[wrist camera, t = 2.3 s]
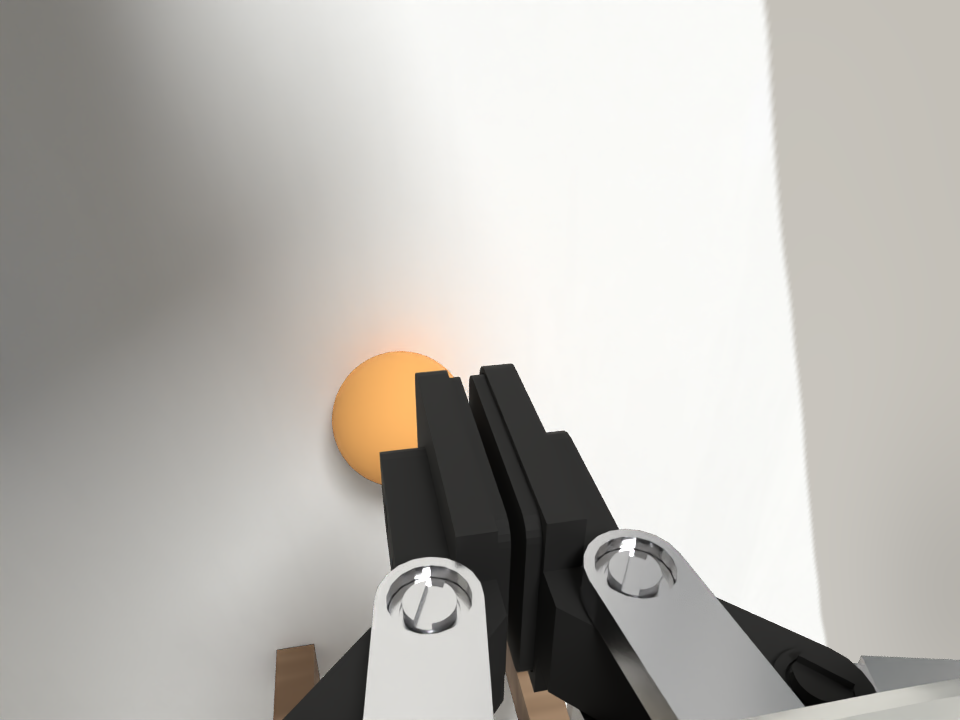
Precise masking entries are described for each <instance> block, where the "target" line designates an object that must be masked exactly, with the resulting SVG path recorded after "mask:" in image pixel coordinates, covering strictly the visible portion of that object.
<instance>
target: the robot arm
mask: <svg viewBox="0 0 960 720" xmlns="http://www.w3.org/2000/svg"><path fill="white" fill-rule="evenodd" d="M415 397H416V420H417V442H418V448H410V449H401V450H393V451H384V452H380V468H381V481H382V493H383V504H384V514H385V524H386V532H387V541H388V549H389V557H390V565H391V572H390V573H388V574H387V575H386V576H385V578H384V579H383V580H382V582H381V583H380V585H379V586H378V589H377V592H376V596H375V599H374V608H373V619H372V627H371V628H370V629H369V630H368V631H367V632H366V633H365V634H364V635H363V636H362V637H361V638H360V639H359V640H358V641H357V642H356V643H355V644H354V645H353V646H352V647H351V648H350V650H349V651H348V652H347V653H346V654H345V655H344V656H343V657H342V658H341V659H340V660H339V661H338V662H337V663H336V664H335V665H334V666H333V667H332V668H331V669H330V670H329V671H328V673H327V674H326V675H325V676H324V677H323V678H322V679H321V680H320V681H319V682H318V683H317V684H316V685H315V686H314V687H313V688H312V689H311V690H310V691H309V692H308V693H307V694H306V695H305V697H304V698H303V699H302V700H301V701H300V702H299V703H298V704H297V705H296V706H295V707H294V708H293V709H292V710H291V711H290V712H289V713H288V714H287V715H286V716H285V717H284V718H283V719H282V720H494V718H493V715H494V713H495V712H496V710H497V709H498V707H499V706H500V704H501V703H502V702H503V697H504V675H505V671H506V650H507V642H508V646H509V650H510V653H511V657H512V660H513V664H514V667H515V669H516V671H517V672H524V671H528V674H529V677H530V681H531V684H532V687H533V691H534V692H540V691H545V690H548V692H549V693H551V694H553V695H554V696H556V697H558V698H560V699H561V700H563V701H565V702H566V703H567V712H568V715H569V718H570V720H960V660H952V659H950V660H949V659H928V658H906V657H883V656H861V657H860V660H859V662H858V663H852V662H851V661H850V660H849V659H847V658H846V657H844V656H842V655H841V654H839V653H837V652H835V651H834V650H832V649H830V648H828V647H826V646H824V645H821V644H819V643H817V642H815V641H813V640H810V639H808V638H806V637H804V636H801V635H799V634H797V633H795V632H792V631H790V630H788V629H786V628H784V627H781V626H779V625H777V624H775V623H772V622H770V621H768V620H766V619H763V618H761V617H759V616H757V615H754V614H752V613H750V612H748V611H746V610H743V609H741V608H739V607H737V606H734V605H732V604H730V603H728V602H725V601H723V600H721V599H719V598H717V597H715V595H714V594H713V593H712V592H711V591H710V589H709V588H708V587H707V586H706V584H705V583H704V582H703V581H702V580H701V578H700V577H699V576H698V575H697V573H696V572H695V571H694V570H693V569H692V567H691V566H690V565H689V564H688V562H687V561H686V560H685V559H684V557H683V556H682V555H681V554H680V553H679V552H678V551H677V550H676V549H675V548H674V547H673V546H672V545H671V544H670V543H668V542H667V541H665V540H663V539H661V538H659V537H658V536H656V535H653V534H650V533H647V532H644V531H640V530H631V529H620V530H619V528H618V527H617V525H616V523H615V521H614V519H613V517H612V515H611V513H610V511H609V509H608V507H607V506H606V504H605V502H604V500H603V498H602V496H601V494H600V492H599V490H598V488H597V486H596V485H595V483H594V481H593V479H592V477H591V475H590V473H589V471H588V469H587V467H586V466H585V464H584V462H583V460H582V458H581V456H580V454H579V452H578V450H577V448H576V446H575V445H574V443H573V441H572V439H571V437H570V436H569V434H568V433H567V432H565V431H557V432H548V433H546V431H545V429H544V427H543V425H542V423H541V421H540V419H539V417H538V415H537V413H536V411H535V408H534V406H533V404H532V402H531V400H530V398H529V396H528V394H527V392H526V390H525V388H524V385H523V383H522V381H521V379H520V377H519V375H518V373H517V371H516V369H515V367H514V365H513V364H502V365H491V366H482V367H481V368H480V375H473V376H470V379H469V402H468V399H467V396H466V393H465V391H464V388H463V385H462V382H461V379H460V377H452V378H449V374H448V372H447V370H440V371H429V372H419V373H415Z"/></svg>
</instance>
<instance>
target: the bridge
mask: <svg viewBox="0 0 960 720" xmlns="http://www.w3.org/2000/svg"><path fill="white" fill-rule="evenodd" d="M505 672H506V676H507V679H508V683H509V687H510V691H511V695H512V698H513V702H514V706H515V710H516V713H517V717H518V720H570V718H569V715H568V712H567V708H566V705H565V702H564V701H563V700H561V699H560V698H558V697H556V696H554V695H553V694H551V693H549V692H548V690H545V691H540V692H534V691H533V687H532V684H531V681H530V677H529V674H528V671H524V672H517V671H516V669H515V667H514V664H513V660H512V657H511V653H510V650H509V646H508V642H507V650H506V671H505ZM319 681H320V677H319V671H318V665H317V659H316V653H315V647H314V644H312V645H306V646H300V647H293V648H287V649H281V650H277V656H276V676H275V696H274V716H273V720H282V719H283V718H284V717H285V716H286V715H287V714H288V713H289V712H290V711H291V710H292V709H293V708H294V707H295V706H296V705H297V704H298V703H299V702H300V701H301V700H302V699H303V698H304V697H305V695H306V694H307V693H308V692H309V691H310V690H311V689H312V688H313V687H314V686H315V685H316V684H317V683H318V682H319Z"/></svg>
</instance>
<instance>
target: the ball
mask: <svg viewBox="0 0 960 720" xmlns="http://www.w3.org/2000/svg"><path fill="white" fill-rule="evenodd" d="M440 370H447V369H446V368H445V367H443V366H442V365H441V364H439V363H438V362H436V361H435V360H433V359H431V358H429V357H427V356H424V355H421V354H418V353H413V352H405V351H395V352H388V353H384V354H380V355H377V356H375V357H372V358H370V359H368V360H367V361H365V362H363V363H362V364H361V365H359V366H358V367H357V368H355V369H354V370H353V371H352V372H351V373H350V374H349V375H348V377H347V378H346V379H345V381H344V382H343V384H342V385H341V387H340V389H339V391H338V393H337V396H336V399H335V402H334V406H333V413H332V427H333V433H334V438H335V441H336V444H337V446H338V449H339V451H340V452H341V454H342V456H343V457H344V459H345V460H346V461H347V463H348V464H349V465H350V466H351V467H352V468H353V469H354V470H355V471H356V472H358V473H359V474H360V475H362V476H363V477H365V478H366V479H368V480H370V481H373V482H375V483H378V484H381V485H382V481H381V468H380V452H384V451H393V450H401V449H410V448H418V442H417V420H416V397H415V373H419V372H429V371H440ZM447 372H448V374H449V378H452V377H453V376H452V374H451V373H450V372H449V371H448V370H447Z"/></svg>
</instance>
